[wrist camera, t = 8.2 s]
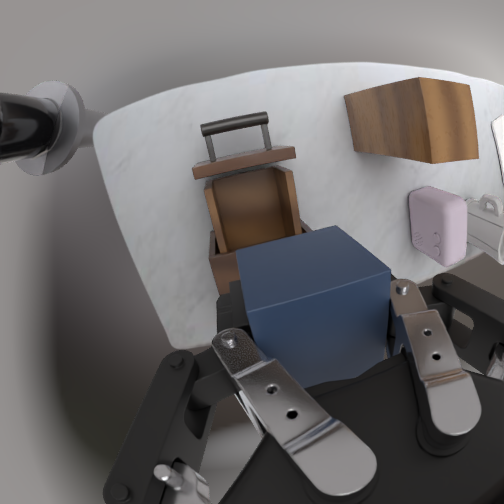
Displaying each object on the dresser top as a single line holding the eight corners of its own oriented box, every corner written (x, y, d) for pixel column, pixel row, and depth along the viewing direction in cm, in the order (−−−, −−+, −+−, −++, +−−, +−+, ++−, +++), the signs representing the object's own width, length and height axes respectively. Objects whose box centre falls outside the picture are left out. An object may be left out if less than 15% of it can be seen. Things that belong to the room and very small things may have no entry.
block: (257, 331, 14) (273, 403, 10) (235, 249, 12) (245, 311, 8) (342, 307, 14) (382, 366, 10) (336, 224, 12) (392, 269, 8)
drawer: (189, 130, 30) (182, 127, 24) (272, 113, 31) (286, 106, 24) (220, 254, 37) (221, 280, 30) (294, 237, 37) (311, 258, 30)
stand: (354, 151, 34) (432, 164, 20) (343, 95, 31) (418, 77, 16) (398, 145, 34) (479, 158, 20) (389, 94, 31) (469, 84, 17)
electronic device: (403, 191, 37) (446, 207, 28) (424, 184, 37) (467, 199, 28) (408, 247, 41) (445, 273, 32) (427, 239, 41) (465, 262, 32)
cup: (444, 222, 40) (490, 247, 29) (464, 182, 38) (511, 199, 27) (465, 247, 43) (505, 272, 32) (483, 211, 41) (525, 230, 30)
